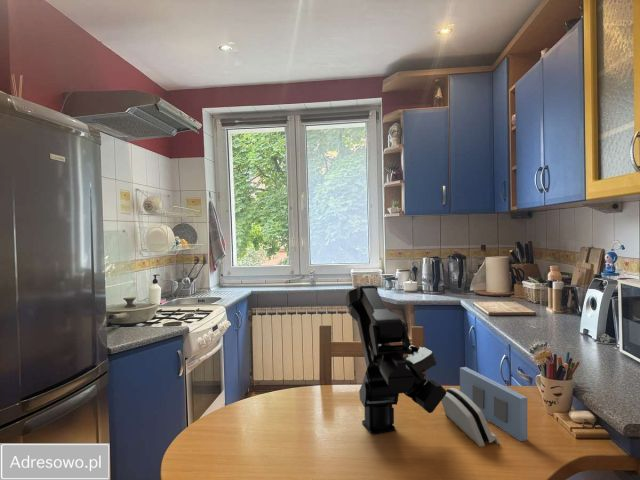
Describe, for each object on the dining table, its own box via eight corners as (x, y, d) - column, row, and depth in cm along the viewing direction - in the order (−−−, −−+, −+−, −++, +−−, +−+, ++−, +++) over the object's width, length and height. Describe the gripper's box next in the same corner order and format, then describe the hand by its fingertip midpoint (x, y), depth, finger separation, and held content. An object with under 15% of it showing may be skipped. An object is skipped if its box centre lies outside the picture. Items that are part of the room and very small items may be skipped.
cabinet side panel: (518, 441, 92) (518, 399, 91) (458, 402, 113) (458, 367, 112) (527, 439, 92) (527, 397, 92) (465, 401, 113) (465, 366, 113)
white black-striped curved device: (500, 444, 90) (486, 405, 90) (482, 453, 90) (468, 414, 89) (462, 411, 107) (450, 378, 106) (446, 419, 106) (434, 385, 105)
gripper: (438, 350, 85) (481, 393, 89) (396, 329, 103) (433, 366, 107) (406, 391, 83) (451, 434, 87) (369, 363, 101) (407, 399, 105)
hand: (435, 405), depth 96 cm, fingers closed
